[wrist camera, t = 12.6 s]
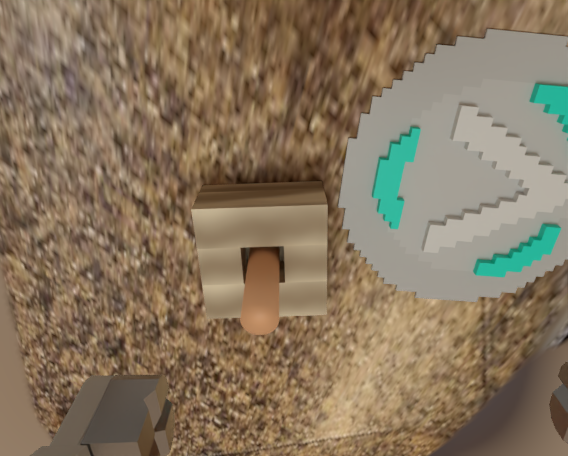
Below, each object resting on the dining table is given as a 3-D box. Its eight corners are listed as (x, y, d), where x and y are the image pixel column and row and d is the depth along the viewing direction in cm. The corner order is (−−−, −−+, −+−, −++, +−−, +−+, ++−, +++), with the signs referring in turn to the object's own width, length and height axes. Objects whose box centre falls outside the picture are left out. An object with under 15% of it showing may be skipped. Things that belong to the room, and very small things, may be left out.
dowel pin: (249, 232, 43) (238, 304, 33) (279, 231, 43) (278, 303, 33) (251, 258, 45) (241, 335, 34) (280, 257, 45) (279, 334, 34)
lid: (560, 304, 51) (568, 312, 49) (324, 287, 49) (325, 295, 48) (676, 47, 38) (692, 48, 37) (365, 16, 37) (369, 17, 36)
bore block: (202, 185, 43) (191, 209, 38) (322, 180, 43) (327, 204, 38) (215, 284, 49) (207, 318, 43) (321, 281, 48) (326, 314, 43)
